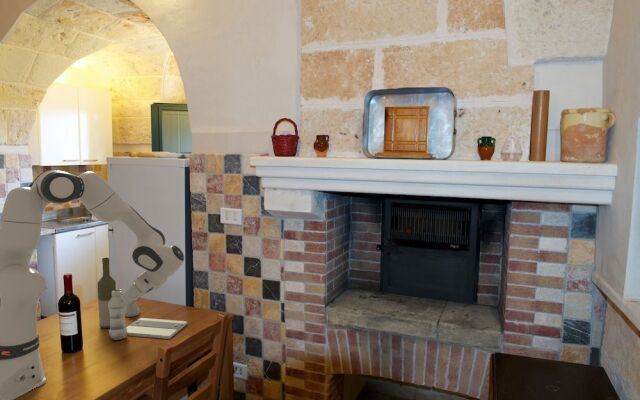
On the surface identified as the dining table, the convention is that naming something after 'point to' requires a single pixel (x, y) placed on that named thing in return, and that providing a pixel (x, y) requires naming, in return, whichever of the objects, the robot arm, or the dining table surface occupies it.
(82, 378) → the dining table surface
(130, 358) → the dining table surface
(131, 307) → the flask
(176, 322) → the white book
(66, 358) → the dining table surface
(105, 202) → the robot arm
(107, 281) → the bottle
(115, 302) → the plastic bottle
